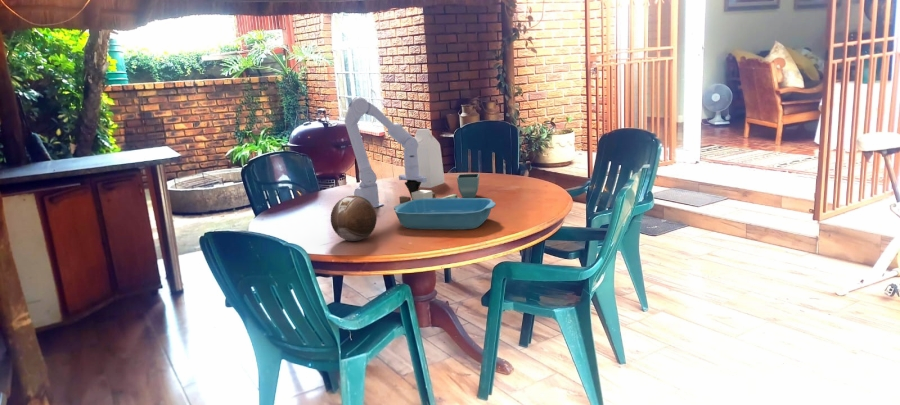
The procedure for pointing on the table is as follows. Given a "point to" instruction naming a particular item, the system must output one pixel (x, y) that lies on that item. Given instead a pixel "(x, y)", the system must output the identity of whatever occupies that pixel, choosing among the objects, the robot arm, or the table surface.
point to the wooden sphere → (353, 218)
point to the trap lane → (406, 199)
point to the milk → (429, 158)
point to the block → (421, 194)
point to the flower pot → (468, 185)
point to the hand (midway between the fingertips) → (414, 198)
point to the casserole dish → (444, 213)
